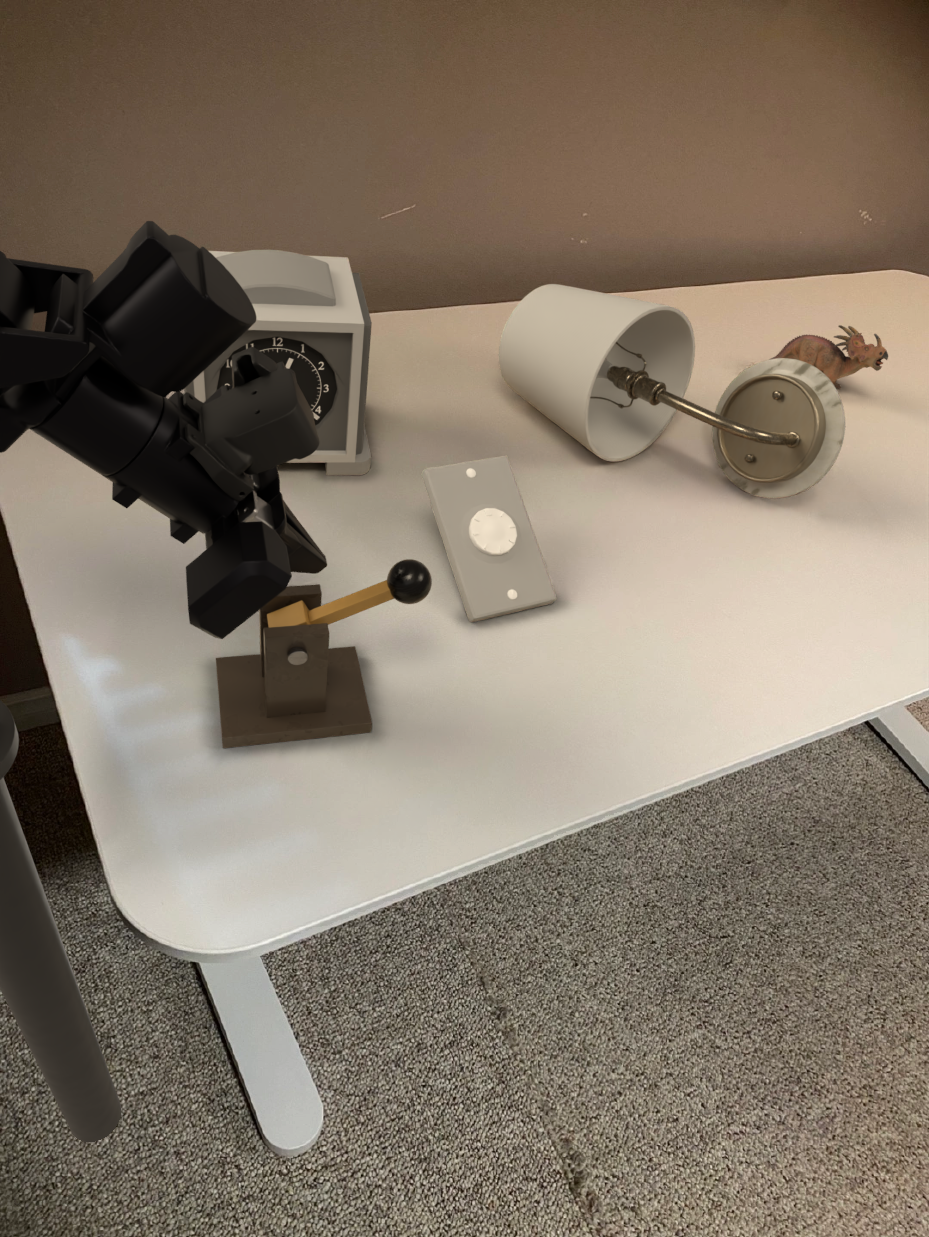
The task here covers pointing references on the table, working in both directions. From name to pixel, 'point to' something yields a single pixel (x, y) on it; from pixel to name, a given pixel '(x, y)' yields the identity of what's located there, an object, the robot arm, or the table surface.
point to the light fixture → (665, 388)
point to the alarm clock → (307, 344)
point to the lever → (361, 597)
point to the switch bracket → (291, 683)
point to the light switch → (488, 537)
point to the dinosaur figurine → (836, 353)
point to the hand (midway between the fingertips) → (322, 566)
